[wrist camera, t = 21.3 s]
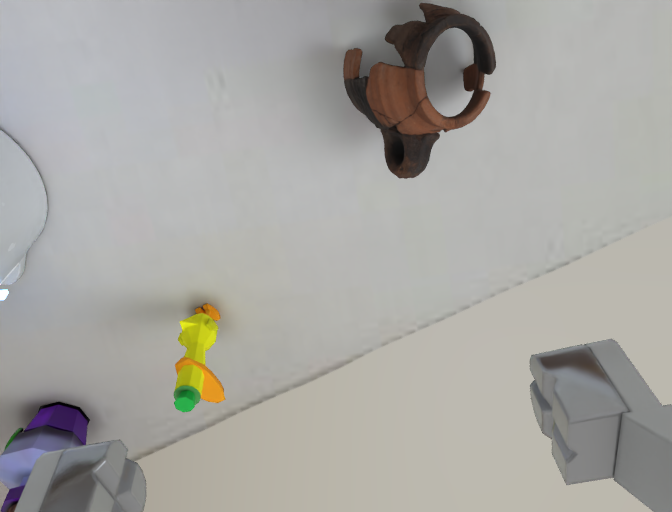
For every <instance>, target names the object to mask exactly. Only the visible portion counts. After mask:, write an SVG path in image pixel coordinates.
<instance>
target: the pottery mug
mask: <svg viewBox="0 0 672 512" xmlns="http://www.w3.org/2000/svg"><path fill="white" fill-rule="evenodd" d="M419 7H420V9H421V10H422V11H423V13H424V17H425V20H426V23H425V22H421V21H410V22H407V23H405V24H403V25H395V26H393V27H392V28H391V29H390V30H389V32H388V33H387V34H386V36H385V40H386V41H387V42H389V43H391V44H394V45H395V48H396V50H397V51H398V53H399V54H400V56H401V58H402V61H403V63H404V65H405V66H404V67H400V66H394V65H389V64H385V63H383V62H378V63H377V64H375V65H373V66H372V67H371V69H370V73H369V77H368V76H365V77H363V78H359V69H360V62H361V57H362V50H361V49H358V48H355V49H353V50H348V51H347V52H346V56H345V59H344V68H343V72H344V84H345V88H346V91H347V94H348V96H349V98H350V100H351V102H352V103H353V105H354V106H355V107H356V108H357V109H358V110H359V111H360V112H362V113H363V114H365V115H366V116H367V118H368V119H369V120H370V121H371V122H372V123H373V124H375V126H376V127H377V128H380V129H381V132H382V135H383V138H384V144H385V148H384V150H385V159H386V163H387V166H388V168H389V170H390V171H391V172H392V173H393V174H395V175H396V176H397V177H398V178H405V179H406V178H414V177H416V176H418V175H419V174H420V173H422V172H423V171H424V169H425V168H426V166H427V164H428V161H429V157H430V152H431V149H432V146H433V144H434V143H435V142H436V140H438V139H439V137H440V134H439V133H437V132H440V131H441V130H444V132H447V131H450V130H451V129H457V128H461V127H463V126H465V125H467V124H469V123H470V122H472V121H473V120H474V119H476V117H477V116H478V115H479V114H480V113H481V111H482V110H483V109H484V107H485V105H486V104H487V102H488V100H489V97H490V92H488V91H485V90H482V87H483V84H484V75H485V74H488V75H490V74H492V73H493V71H494V69H495V67H496V60H495V52H494V49H493V45H492V42H491V39H490V37H489V35H488V33H487V32H486V30H485V29H484V28H483V27H482V26H480V24H479V22H477V21H476V20H475V19H474V18H471V17H469V16H467V15H464V14H460V13H459V12H458V11H457V10H454V9H452V8H448V7H442V6H437V5H433V4H428V3H420V5H419ZM454 27H455V28H459V29H462V30H463V31H465V32H466V33H467V34H468V36H469V37H470V38H471V40H472V43H473V48H474V64H471V65H470V66H468V67H467V68H465V70H464V73H463V81H464V88H465V90H466V91H473V90H474V93H473V95H472V98H471V100H470V102H469V103H468V105H467V106H466V108H465V109H464V110H463V111H462V112H461V113H460V114H458V115H456V116H453V117H445V116H443V115H441V114H440V113H439V112H437V111H436V110H435V108H434V107H433V106H432V104H431V102H430V101H429V98H428V97H427V93H426V89H425V80H424V66H425V63H426V59H427V55H428V52H429V50H430V48H431V46H432V45H433V43H434V42H435V40H436V39H437V37H438V36H439V35H440V34H441V33H443V32H444V31H445V30H447V29H449V28H454Z"/></svg>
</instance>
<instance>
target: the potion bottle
mask: <svg viewBox="0 0 672 512" xmlns="http://www.w3.org/2000/svg"><path fill="white" fill-rule="evenodd" d="M89 421H90V419H89V418H88V417H87V416H86V415H85V413H84V412H83V411H82V410H81V409H80V407H76V406H72V405H69V404H65V403H61V402H56V403H52V404H48V405H44V406H41V407H40V409H39V411H38V414H37V415H36V416H35V418H34V419H33V420H32V421H31V423H30V424H29V425H28V426H27V428H26V429H25V430H24V432H23V428H19V429H18V430H17V431H16V432H15V433H14V434H13V435H12V437H11V438H10V440H9V441H8V442H7V444H6V447H5V450H4V452H3V453H2V455H1V456H0V481H1V482H2V483H3V484H4V485H5V486H6V487H7V488H8V489H9V492H8V494H7V496H6V499H5V501H4V503H3V506H2V508H1V512H14V511H15V508H16V506H17V504H18V501H19V499H20V497H21V494H22V492H23V490H24V487H25V485H26V483H27V480H28V478H29V476H30V473H31V471H32V469H33V466H34V464H35V462H36V460H37V459H38V458H39V457H40V456H41V455H42V454H43V453H46V452H51V451H57V450H62V449H67V448H72V447H78V446H84V445H86V435H87V425H88V423H89ZM22 432H23V433H22Z"/></svg>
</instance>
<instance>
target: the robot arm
mask: <svg viewBox="0 0 672 512" xmlns="http://www.w3.org/2000/svg"><path fill="white" fill-rule="evenodd" d="M47 209H48V206H47V196H46V191H45V188H44V185H43V182H42V179H41V177H40V175H39V173H38V171H37V169H36V167H35V166H34V164H33V163H32V161H31V160H30V158H29V157H28V156H27V155H26V153H25V152H24V151H23V150H22V149H21V148H20V146H19V145H18V144H17V143H16V142H15V141H14V140H12V139H11V138H10V137H9V136H8V135H7V134H5V133H4V132H3V131H2V130H0V285H9V284H13V283H15V282H16V281H17V280H18V279H19V278H20V277H21V276H22V274H23V272H24V269H25V262H26V253H27V251H28V249H29V248H30V246H31V245H32V244H33V243H34V242H35V240H36V239H37V238H38V237H39V235H40V234H41V232H42V230H43V227H44V225H45V222H46V218H47ZM8 293H9V292H8V290H0V300H4V299H5V298H6V296H7V295H8ZM530 371H531V373H532V375H533V377H534V379H535V380H534V381H533V382H532V383H531V385H530V391H531V400H532V405H533V410H534V413H535V416H536V419H537V421H538V424H539V426H540V428H541V431H542V433H543V434H545V435H546V436H548V437H549V438H551V439H552V455H553V457H554V459H555V462H556V464H557V466H558V468H559V470H560V472H561V474H562V477H563V479H564V481H565V483H566V485H570V484H576V483H582V482H589V481H595V480H601V479H608V478H614V481H616V482H617V483H618V484H619V485H621V486H622V487H623V488H625V489H626V490H627V491H628V492H630V493H631V494H632V495H634V496H635V497H636V498H637V499H639V500H640V501H641V502H642V503H644V504H645V505H646V506H647V507H649V508H650V509H651V510H652V511H654V512H672V405H671V404H670V405H663V406H662V404H661V403H660V402H659V400H658V399H657V397H656V396H655V395H654V393H653V392H652V390H651V389H650V388H649V386H648V385H647V383H646V382H645V381H644V379H643V378H642V376H641V375H640V373H639V372H638V371H637V369H636V368H635V366H634V365H633V364H632V362H631V361H630V359H629V358H628V357H627V355H626V354H625V352H624V351H623V350H622V348H621V347H620V345H619V344H618V343H617V342H616V341H615V340H613V339H608V340H603V341H598V342H593V343H589V344H584V345H582V344H581V345H577V346H572V347H567V348H563V349H558V350H553V351H549V352H544V353H539V354H535V355H532V356H531V358H530ZM127 452H128V449H127V448H126V446H125V445H124V444H123V443H122V441H121V440H112V441H107V442H101V443H95V444H89V445H84V446H78V447H72V448H67V449H62V450H57V451H51V452H46V453H43V454H42V455H41V456H40V457H39V458H38V459H37V460H36V462H35V464H34V466H33V469H32V471H31V473H30V476H29V478H28V480H27V483H26V485H25V487H24V490H23V492H22V494H21V497H20V499H19V501H18V504H17V506H16V508H15V511H14V512H143V510H144V506H145V501H146V480H145V477H144V474H143V471H142V469H141V468H140V466H139V465H138V463H136V462H134V461H132V460H129V459H127V458H126V456H127Z"/></svg>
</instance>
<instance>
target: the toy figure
mask: <svg viewBox="0 0 672 512" xmlns="http://www.w3.org/2000/svg"><path fill="white" fill-rule="evenodd" d="M203 308H204V310H205V311H204V310H203V309H201V308H200V307H199V308H197V309H195V311H196V314H195V315H193V316H191V317H189V318H187V319H184V320H182V321H180V324H181V327H182V333H180V336H179V338H178V341H179V342H180V344H181V345H182V346H183V345H184V346H185V347H186V348H187V351H186V353H185V356H184V357H183V358H181V359H180V360H179V361H178V362H177V363H176V364H175V367H176V371H177V375H178V378H177V382H176V387H175V392H174V398H175V400H176V401H175V402H174V404H175V407H176V409H178V410H180V411H182V412H189V411H191V410H192V409H193V408H194V407H195V405H196V404H197V403H198V402H199V401H200V398H202V399H204V400H206V401H208V402H215V403H219V402H221V401H223V400H225V397H224V388H223V386H222V384H221V382H220V381H219V380H218V379H217V377H216V376H215V375H214V374H213V373H212V371H210V370H209V369H208V368H207V367H206V366H205V351H207V350H209V349H210V347H211V346H212V345H213V344H214V343H215V342H216V335H217V330H218V329H219V328H218V326H217V325H216V323H215V322H214V320H216V321H217V320H219V319H220V314H219V312H218V311H217V310H216V309H215V308H214V307H212V306H211V305H209V304H208V303H207V304H205V305H203Z"/></svg>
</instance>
